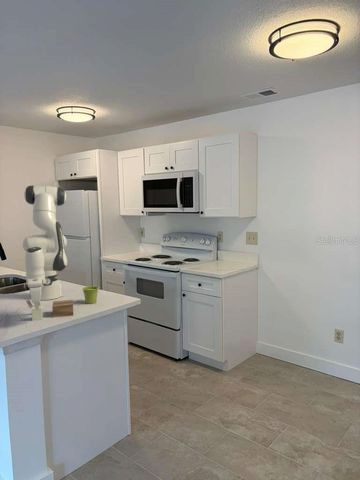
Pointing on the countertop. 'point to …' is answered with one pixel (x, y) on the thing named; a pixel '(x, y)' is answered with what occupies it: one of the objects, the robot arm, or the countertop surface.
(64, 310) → the walnut block
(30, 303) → the lighter
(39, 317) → the sage block
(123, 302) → the countertop surface
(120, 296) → the countertop surface
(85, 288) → the plant pot
